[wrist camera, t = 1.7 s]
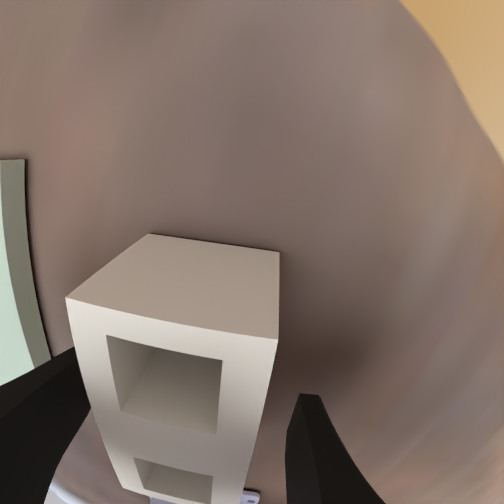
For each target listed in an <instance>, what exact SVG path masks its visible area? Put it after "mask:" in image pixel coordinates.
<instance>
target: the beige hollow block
mask: <svg viewBox="0 0 504 504" xmlns="http://www.w3.org/2000/svg"><path fill="white" fill-rule="evenodd" d="M65 299H66V305H67V311H68V316H69V322H70V327H71V332H72V337H73V341H74V346H75V350H76V355H77V359H78V363H79V367H80V371H81V374H82V378H83V382H84V385H85V389H86V392H87V396H88V399H89V402H90V405H91V408H92V412H93V415H94V418H95V420H96V423H97V426H98V429H99V432H100V435H101V437H102V440H103V443H104V445H105V448H106V450H107V453H108V455H109V458H110V460H111V463H112V465H113V467H114V470H115V472H116V474H117V476H118V479H119V481H120V483H121V485H122V487H123V488H125V489H128V490H131V491H134V492H137V493H140V494H143V495H147V496H150V497H154V498H157V499H161V500H165V501H169V502H173V503H177V504H239V503H240V500H241V496H242V492H243V488H244V485H245V481H246V477H247V473H248V469H249V465H250V462H251V458H252V454H253V450H254V446H255V442H256V437H257V433H258V429H259V425H260V421H261V416H262V412H263V408H264V404H265V399H266V395H267V390H268V386H269V381H270V377H271V372H272V368H273V363H274V358H275V353H276V349H277V344H278V333H279V252H275V251H268V250H261V249H254V248H247V247H240V246H233V245H226V244H218V243H211V242H204V241H197V240H190V239H183V238H176V237H169V236H162V235H155V234H147V235H145V236H144V237H142V238H141V239H140V240H138V241H137V242H136V243H134V244H133V245H132V246H130V247H129V248H127V249H126V250H125V251H123V252H122V253H121V254H119V255H118V256H117V257H116V258H114V259H113V260H112V261H110V262H109V263H108V264H106V265H105V266H104V267H103V268H101V269H100V270H99V271H97V272H96V273H95V274H94V275H92V276H91V277H90V278H88V279H87V280H86V281H85V282H83V283H82V284H81V285H80V286H78V287H77V288H76V289H75V290H74V291H72V292H71V293H70V294H69V295H67V296H66V297H65Z"/></svg>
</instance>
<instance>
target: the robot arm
mask: <svg viewBox="0 0 504 504" xmlns="http://www.w3.org/2000/svg"><path fill="white" fill-rule="evenodd" d="M90 409H91V405H90V402H89V399H88V396H87V392H86V389H85V385H84V382H83V378H82V374H81V371H80V367H79V363H78V359H77V355H76V350H75V346H74V347H72V348H70V349H68V350H67V351H65V352H63V353H61V354H59V355H57V356H56V357H54V358H52V359H50V360H49V361H47V362H45V363H43V364H42V365H40V366H38V367H36V368H34V369H33V370H31V371H29V372H27V373H25V374H23V375H21V376H19V377H17V378H15V379H13V380H11V381H9V382H7V383H5V384H3V385H1V386H0V504H44V501H45V498H46V495H47V492H48V489H49V486H50V483H51V481H52V478H53V476H54V473H55V471H56V468H57V466H58V464H59V462H60V460H61V458H62V456H63V454H64V453H65V451H66V449H67V448H68V446H69V444H70V443H71V441H72V439H73V438H74V436H75V435H76V433H77V431H78V430H79V428H80V426H81V425H82V423H83V421H84V420H85V418H86V416H87V415H88V413H89V411H90ZM285 470H286V491H287V504H385V502H384V501H383V500H382V499H381V498H380V497H379V496H378V495H377V493H376V492H375V491H374V490H373V488H372V487H371V486H370V485H369V483H368V482H367V481H366V479H365V478H364V476H363V475H362V474H361V472H360V471H359V469H358V468H357V466H356V465H355V463H354V462H353V460H352V458H351V457H350V455H349V453H348V452H347V450H346V448H345V447H344V445H343V443H342V441H341V439H340V438H339V436H338V434H337V432H336V430H335V428H334V426H333V424H332V422H331V420H330V418H329V416H328V414H327V412H326V409H325V407H324V405H323V403H322V400H321V398H320V397H319V395H313V394H301V393H299V396H298V399H297V402H296V405H295V409H294V412H293V415H292V418H291V421H290V423H289V426H288V429H287V436H286V450H285ZM149 498H150V500H151V501H150V504H177V503H173V502H169V501H165V500H161V499H157V498H154V497H150V496H149ZM259 499H260V494H259V493H257V492H251V491H243V492H242V496H241V500H240V503H239V504H258V502H259Z"/></svg>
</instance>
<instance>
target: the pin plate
mask: <svg viewBox="0 0 504 504" xmlns="http://www.w3.org/2000/svg"><path fill="white" fill-rule="evenodd" d="M24 163H25V159H20V160H0V386H1V385H3V384H5V383H7V382H9V381H11V380H13V379H15V378H17V377H19V376H21V375H23V374H25V373H27V372H29V371H31V370H33V369H34V368H36V367H38V366H40V365H42V364H43V363H45V362H47V361H49V360H50V359H51V356H50V353H49V349H48V346H47V342H46V338H45V334H44V330H43V326H42V322H41V318H40V313H39V309H38V304H37V299H36V294H35V288H34V282H33V276H32V270H31V263H30V255H29V247H28V237H27V226H26V212H25V186H24Z"/></svg>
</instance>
